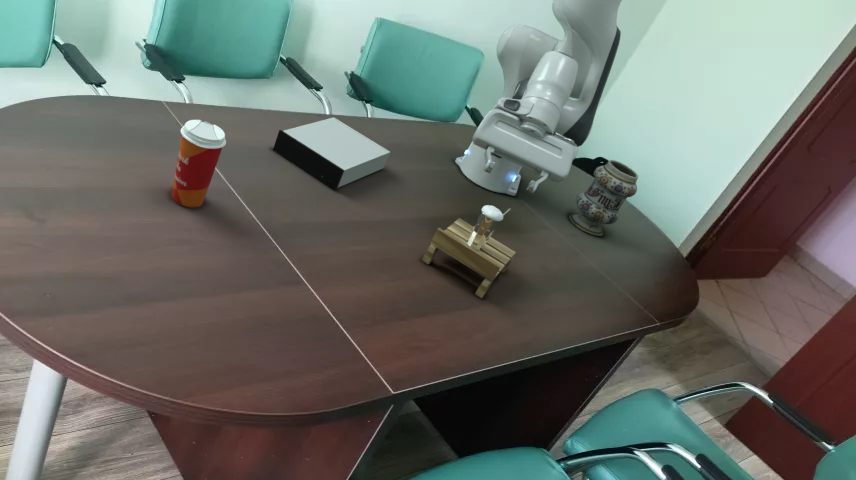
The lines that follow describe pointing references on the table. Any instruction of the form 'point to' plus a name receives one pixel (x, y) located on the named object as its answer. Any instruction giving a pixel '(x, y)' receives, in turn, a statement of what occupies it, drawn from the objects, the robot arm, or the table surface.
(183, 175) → the paper cup
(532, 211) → the table surface
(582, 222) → the apothecary jar
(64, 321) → the table surface
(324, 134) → the disc drive
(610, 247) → the table surface
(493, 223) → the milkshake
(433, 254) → the brown wooden slatted bench
